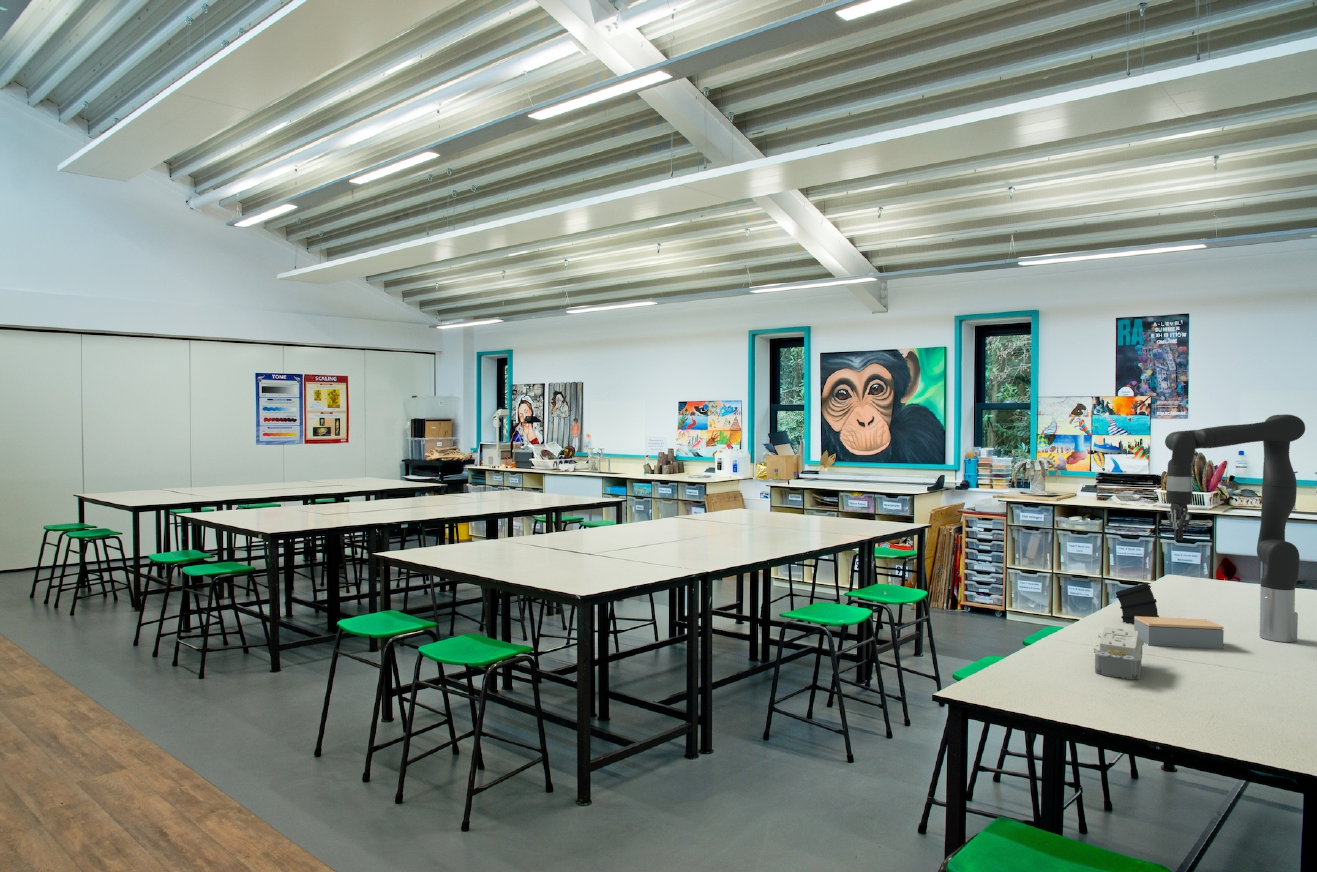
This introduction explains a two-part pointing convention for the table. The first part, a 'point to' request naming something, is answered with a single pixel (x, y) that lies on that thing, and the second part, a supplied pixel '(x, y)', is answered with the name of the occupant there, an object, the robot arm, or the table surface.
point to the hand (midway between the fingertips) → (1178, 540)
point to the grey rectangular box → (1179, 636)
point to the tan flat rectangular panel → (1178, 622)
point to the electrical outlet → (1118, 653)
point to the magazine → (1137, 602)
